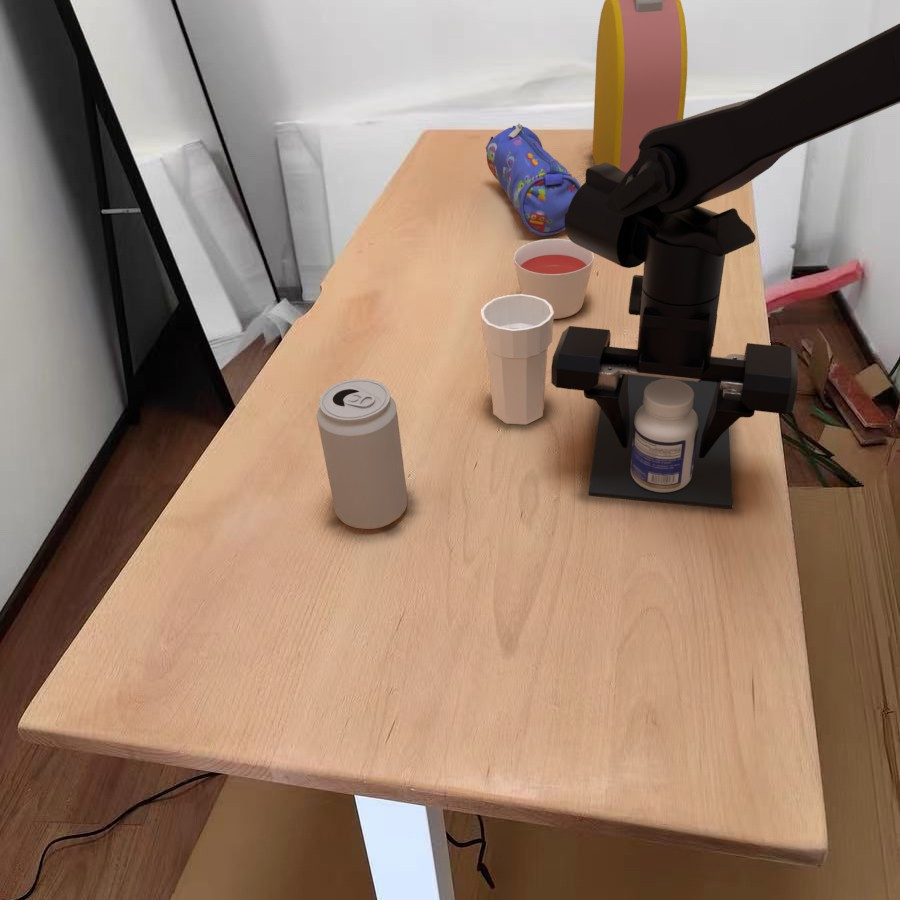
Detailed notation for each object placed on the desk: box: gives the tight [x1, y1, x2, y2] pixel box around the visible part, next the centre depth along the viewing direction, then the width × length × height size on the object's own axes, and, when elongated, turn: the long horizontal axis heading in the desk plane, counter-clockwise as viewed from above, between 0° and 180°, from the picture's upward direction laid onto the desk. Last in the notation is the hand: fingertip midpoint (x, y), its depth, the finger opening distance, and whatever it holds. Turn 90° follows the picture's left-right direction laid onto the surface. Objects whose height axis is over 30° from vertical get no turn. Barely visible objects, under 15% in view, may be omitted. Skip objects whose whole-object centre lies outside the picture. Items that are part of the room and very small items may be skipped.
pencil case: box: [485, 122, 582, 237], centre depth 121 cm, size 22×9×10 cm, turn 11°
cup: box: [480, 293, 555, 426], centre depth 82 cm, size 7×7×11 cm
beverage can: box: [316, 378, 409, 530], centre depth 72 cm, size 6×6×12 cm
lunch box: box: [591, 0, 688, 173], centre depth 122 cm, size 21×9×26 cm, turn 0°
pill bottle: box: [631, 379, 699, 492], centre depth 73 cm, size 5×5×9 cm
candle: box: [513, 238, 595, 320], centre depth 99 cm, size 9×9×6 cm
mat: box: [587, 374, 734, 510], centre depth 81 cm, size 20×12×1 cm, turn 167°
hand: (663, 449), depth 75 cm, fingers open, 6 cm apart
